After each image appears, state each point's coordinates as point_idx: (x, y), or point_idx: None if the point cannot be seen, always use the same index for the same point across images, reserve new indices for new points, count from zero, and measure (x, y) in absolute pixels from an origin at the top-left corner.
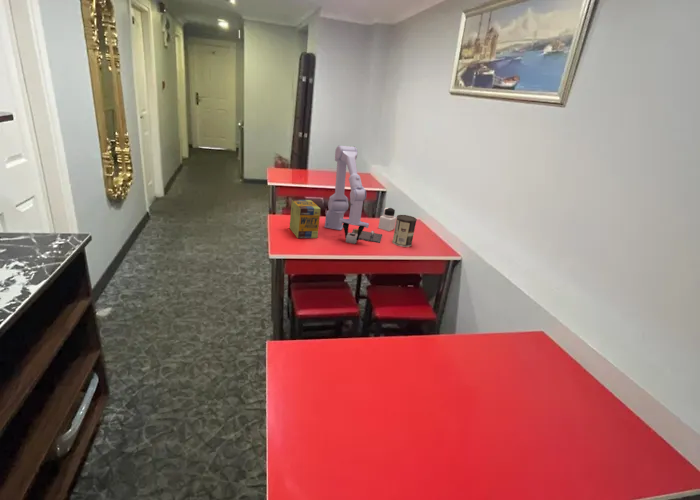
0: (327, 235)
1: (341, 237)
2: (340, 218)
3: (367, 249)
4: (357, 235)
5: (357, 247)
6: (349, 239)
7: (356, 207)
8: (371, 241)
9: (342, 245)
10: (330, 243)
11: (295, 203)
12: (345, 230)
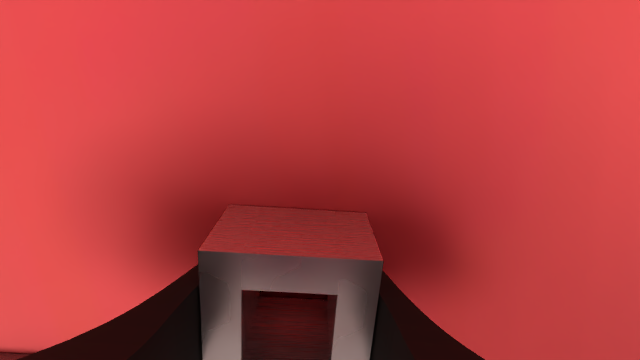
0: (591, 325)
1: None
2: None
3: (32, 73)
4: (204, 339)
5: (182, 88)
6: (319, 229)
7: None
8: None
9: (397, 69)
10: (571, 71)
11: None
12: (438, 345)
